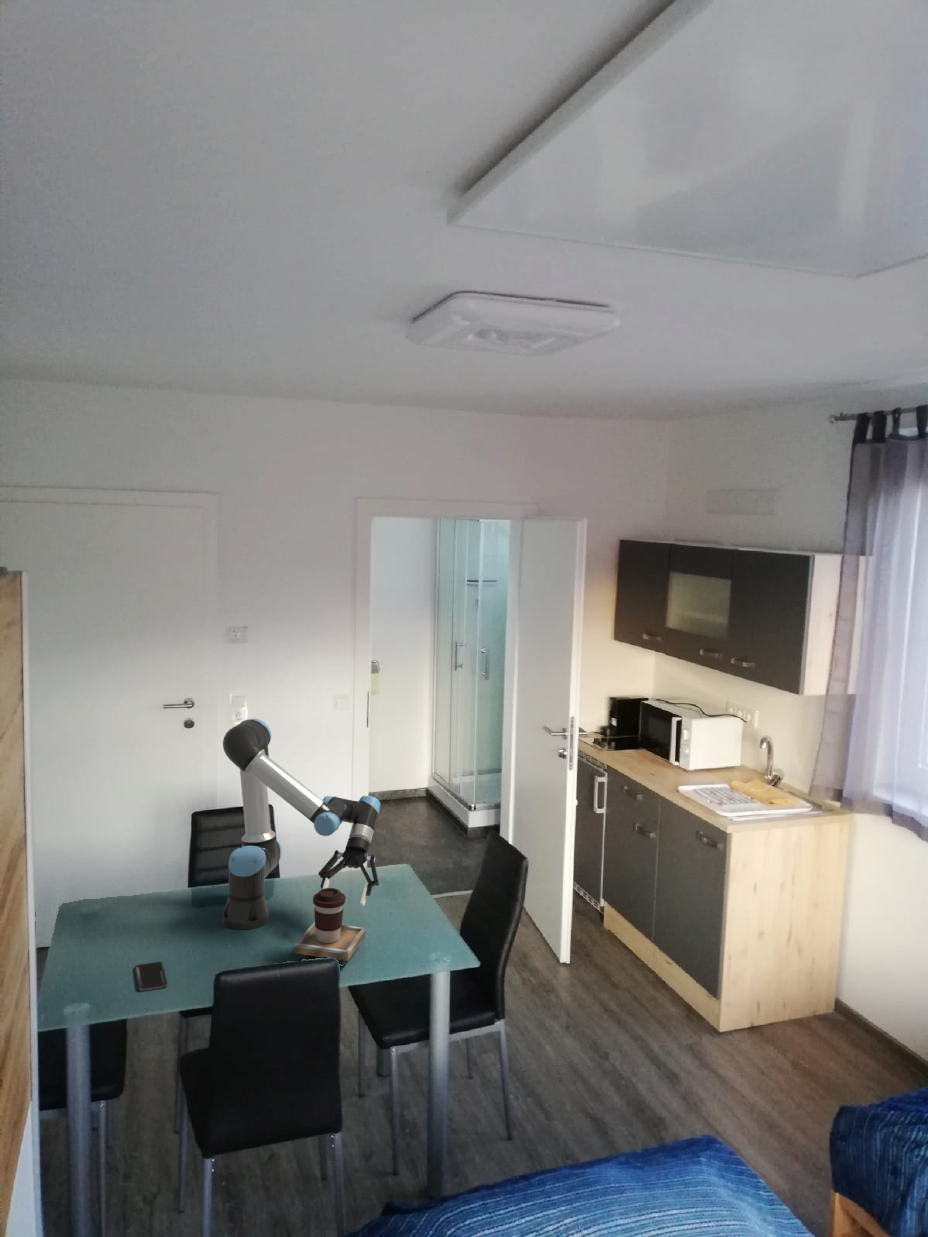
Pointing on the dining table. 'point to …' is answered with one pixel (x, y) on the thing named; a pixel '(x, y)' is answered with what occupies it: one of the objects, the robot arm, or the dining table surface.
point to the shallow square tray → (331, 944)
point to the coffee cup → (328, 914)
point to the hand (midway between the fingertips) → (342, 902)
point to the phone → (150, 976)
